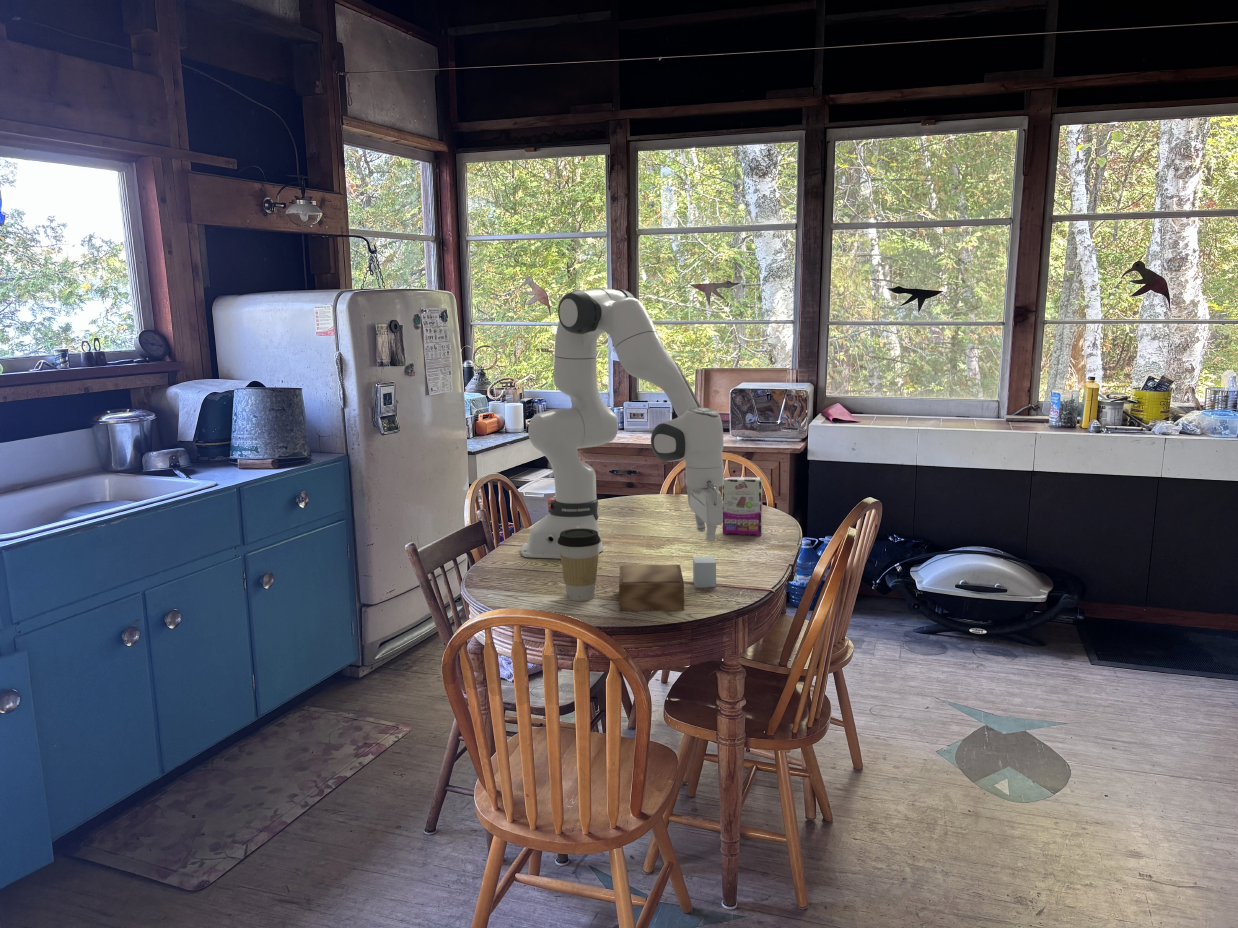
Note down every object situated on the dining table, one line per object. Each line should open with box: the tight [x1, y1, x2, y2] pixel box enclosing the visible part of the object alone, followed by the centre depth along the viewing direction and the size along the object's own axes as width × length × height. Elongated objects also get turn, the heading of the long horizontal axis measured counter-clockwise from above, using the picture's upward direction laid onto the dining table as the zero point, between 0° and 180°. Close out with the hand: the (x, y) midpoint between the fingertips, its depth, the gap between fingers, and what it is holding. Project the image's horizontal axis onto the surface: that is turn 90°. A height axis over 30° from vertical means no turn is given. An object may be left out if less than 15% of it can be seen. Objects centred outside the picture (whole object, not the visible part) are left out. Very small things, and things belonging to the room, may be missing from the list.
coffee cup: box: [558, 528, 602, 602], centre depth 195 cm, size 10×10×15 cm
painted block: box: [692, 556, 717, 588], centre depth 204 cm, size 5×5×6 cm
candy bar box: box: [721, 476, 763, 537], centre depth 248 cm, size 11×5×16 cm, turn 76°
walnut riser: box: [618, 563, 685, 612], centre depth 193 cm, size 14×14×6 cm
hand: (705, 535), depth 202 cm, fingers open, 8 cm apart
